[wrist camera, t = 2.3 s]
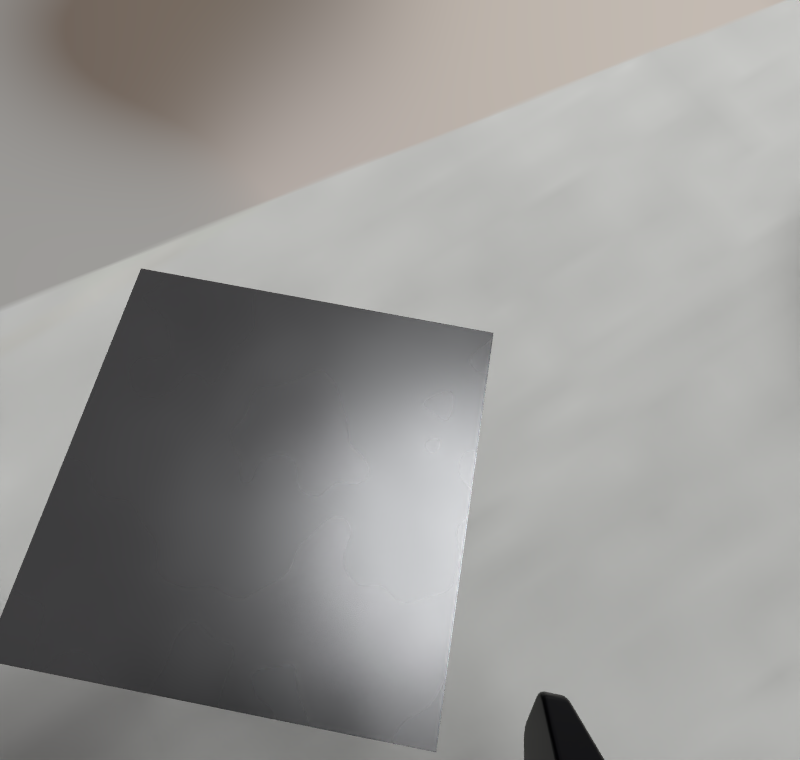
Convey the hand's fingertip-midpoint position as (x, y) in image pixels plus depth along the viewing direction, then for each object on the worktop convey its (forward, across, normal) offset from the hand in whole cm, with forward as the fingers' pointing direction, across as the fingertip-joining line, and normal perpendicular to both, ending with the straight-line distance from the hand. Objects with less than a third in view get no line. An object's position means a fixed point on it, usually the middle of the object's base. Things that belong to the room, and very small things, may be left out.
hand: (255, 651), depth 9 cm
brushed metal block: (+8, 0, +5) cm, 10 cm away
